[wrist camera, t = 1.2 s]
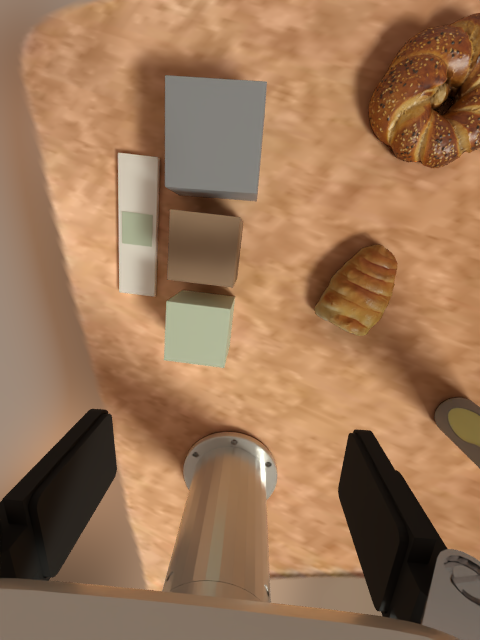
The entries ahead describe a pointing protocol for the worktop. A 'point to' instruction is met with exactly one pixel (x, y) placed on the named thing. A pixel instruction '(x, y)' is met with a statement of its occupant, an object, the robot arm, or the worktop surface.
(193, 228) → the walnut block
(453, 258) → the worktop surface
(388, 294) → the pastry
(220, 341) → the sage block
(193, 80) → the base block
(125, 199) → the card
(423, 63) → the pretzel
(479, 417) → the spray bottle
